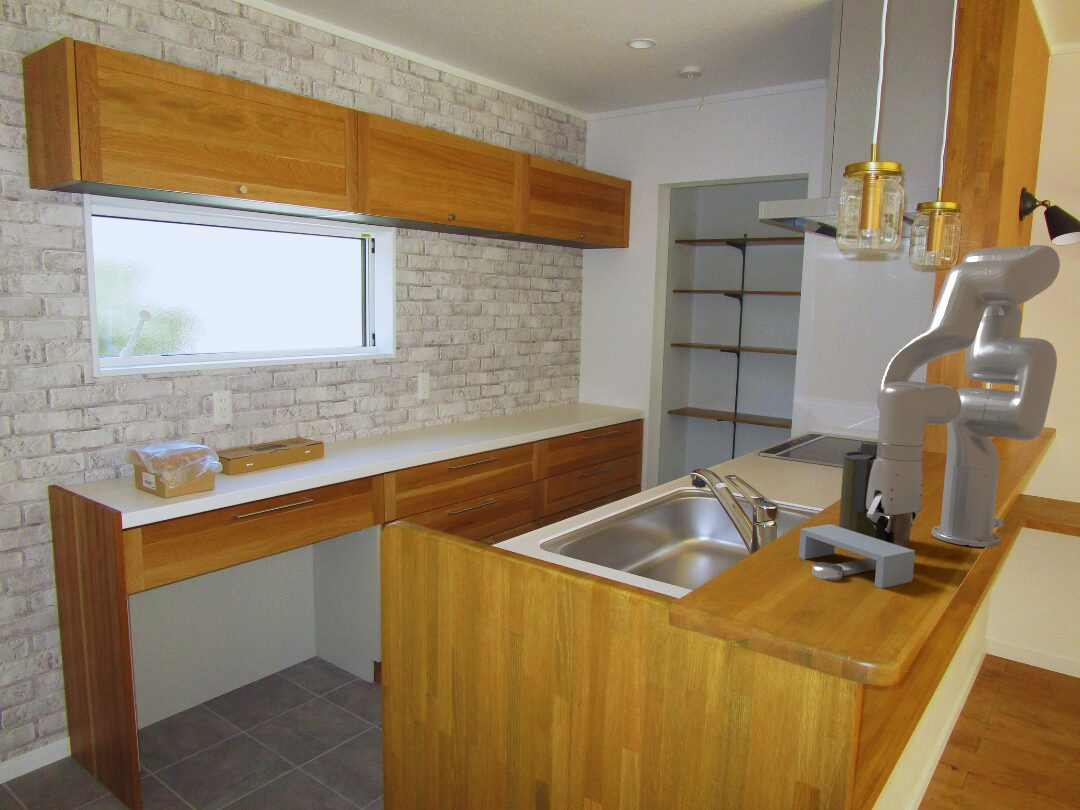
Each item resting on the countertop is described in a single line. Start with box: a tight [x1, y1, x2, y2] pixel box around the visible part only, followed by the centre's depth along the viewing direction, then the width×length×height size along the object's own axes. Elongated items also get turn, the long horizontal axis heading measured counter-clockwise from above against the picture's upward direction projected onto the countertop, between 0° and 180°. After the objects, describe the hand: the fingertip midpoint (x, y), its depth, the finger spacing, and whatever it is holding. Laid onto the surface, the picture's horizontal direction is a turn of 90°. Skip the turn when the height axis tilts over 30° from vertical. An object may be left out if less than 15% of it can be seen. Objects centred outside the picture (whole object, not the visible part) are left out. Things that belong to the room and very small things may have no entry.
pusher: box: [834, 510, 911, 577], centre depth 137 cm, size 16×4×10 cm, turn 118°
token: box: [811, 561, 843, 582], centre depth 132 cm, size 5×5×2 cm
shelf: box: [798, 523, 916, 589], centre depth 136 cm, size 8×18×6 cm, turn 28°
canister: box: [838, 441, 878, 538], centre depth 154 cm, size 11×10×20 cm
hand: (891, 548), depth 140 cm, fingers closed on pusher, 4 cm apart
